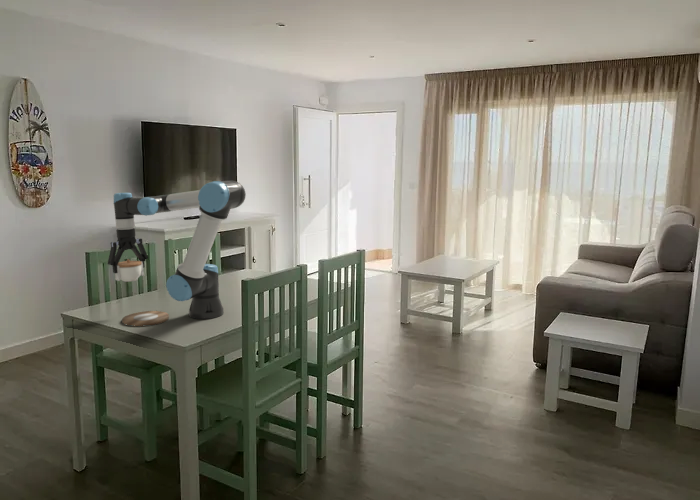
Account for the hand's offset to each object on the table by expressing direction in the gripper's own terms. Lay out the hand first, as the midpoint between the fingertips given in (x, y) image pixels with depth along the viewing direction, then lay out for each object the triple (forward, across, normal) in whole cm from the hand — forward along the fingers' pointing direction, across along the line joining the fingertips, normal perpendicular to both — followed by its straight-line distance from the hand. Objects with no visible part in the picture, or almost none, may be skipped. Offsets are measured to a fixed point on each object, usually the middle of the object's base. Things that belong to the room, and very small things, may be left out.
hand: (129, 277), depth 239 cm
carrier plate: (+18, 0, +10) cm, 20 cm away
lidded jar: (+1, 0, 0) cm, 1 cm away
